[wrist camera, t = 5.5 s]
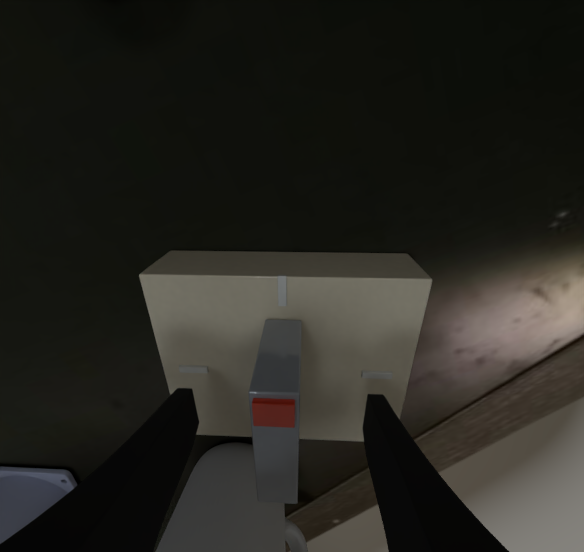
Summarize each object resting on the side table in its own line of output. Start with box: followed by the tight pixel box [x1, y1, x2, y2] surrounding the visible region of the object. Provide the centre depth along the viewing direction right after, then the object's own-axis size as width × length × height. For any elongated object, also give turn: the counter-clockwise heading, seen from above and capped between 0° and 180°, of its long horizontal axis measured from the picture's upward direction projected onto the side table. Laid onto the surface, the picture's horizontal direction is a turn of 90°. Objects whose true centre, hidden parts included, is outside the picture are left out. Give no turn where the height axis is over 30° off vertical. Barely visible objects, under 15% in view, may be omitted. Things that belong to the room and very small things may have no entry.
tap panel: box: [139, 251, 432, 442], centre depth 15 cm, size 10×12×3 cm
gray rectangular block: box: [248, 319, 302, 504], centre depth 11 cm, size 6×2×4 cm, turn 0°
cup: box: [156, 442, 308, 552], centre depth 18 cm, size 11×8×8 cm
